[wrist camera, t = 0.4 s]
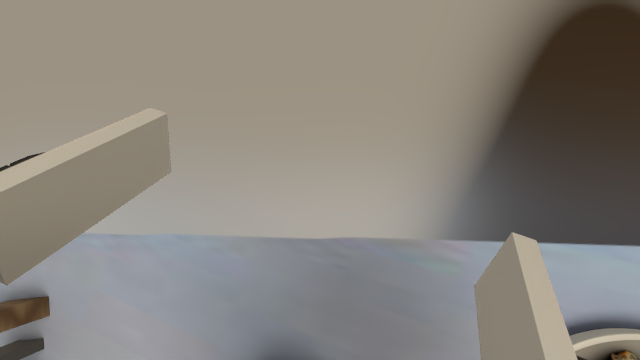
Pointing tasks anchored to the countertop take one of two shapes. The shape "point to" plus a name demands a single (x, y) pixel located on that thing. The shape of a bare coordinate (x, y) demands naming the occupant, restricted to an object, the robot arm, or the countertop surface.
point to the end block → (22, 312)
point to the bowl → (607, 344)
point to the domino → (21, 349)
